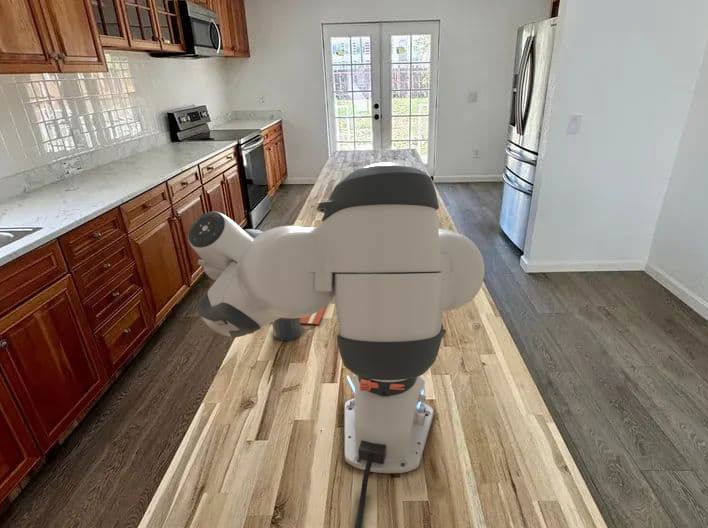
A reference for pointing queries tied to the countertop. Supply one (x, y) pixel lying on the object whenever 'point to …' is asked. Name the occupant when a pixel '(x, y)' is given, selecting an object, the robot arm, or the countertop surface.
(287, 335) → the cup
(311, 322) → the cloth
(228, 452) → the countertop surface
